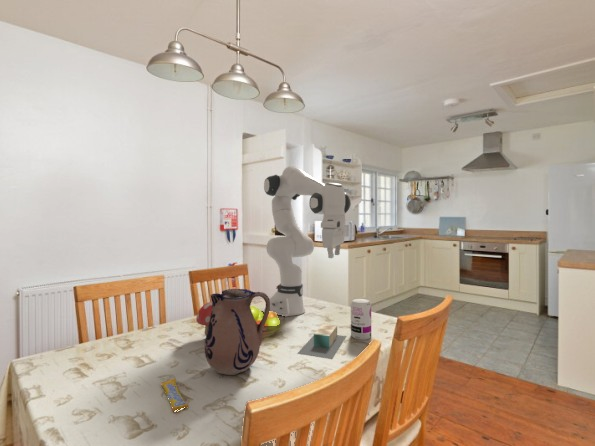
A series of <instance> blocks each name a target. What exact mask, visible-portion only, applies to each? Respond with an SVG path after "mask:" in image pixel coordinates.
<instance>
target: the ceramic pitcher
mask: <svg viewBox="0 0 595 446" xmlns="http://www.w3.org/2000/svg"><path fill="white" fill-rule="evenodd" d="M256 297H260V298H262V300H264V302H265V306H266V307H265V306H264V307H265V313H263V316H262V317H261V320H260V322H259V323H258V322H257V321H256V319H255V316H254V314H253V312H252V309H251V305H252V301H253V300H254V298H256ZM269 298H270V297H269V295H267V293H265V292H263V291H262V292H261V291H251V290H250V289H246V288H245V289H243V288H230V289H225V290H222V291H221V293H212V294H210V299H211V300H210V301H211V302H212V313H211V317H210V322H209V326H208V330H207V335H205V342H204V355H205V358H206V361H207V363H208V365H209V367H211V368H212V369H213V370H214V371H215V372H217V373H218V374H221V375H225V376H234V375H235V376H236V375H238V374H241V373H243V372H245V371H248V370H249V368H250V367H251V366H253V364H254V363H255V362H256V360H257V358H258V356H259V353H260V348H261V345H262V343H263V339H264V338H263V337H264V336H263V332H264V331H263V330H264V328H265V325H266V323H267V320H268V318H269V315H270V314H269V311H270V300H269Z"/></svg>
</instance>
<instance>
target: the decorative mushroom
mask: <svg viewBox="0 0 595 446" xmlns="http://www.w3.org/2000/svg"><path fill="white" fill-rule="evenodd" d="M211 313H212V301H209V302H206V303H205V304H203V305H202V306H201V307H200V308H199V309H198V311H197V315H196V318H195V321H196V322H197V324H199V325H201V326H205V327H204V335H205V336H206V335H207V330H208V326H209V322H210V317H211Z"/></svg>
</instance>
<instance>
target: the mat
mask: <svg viewBox="0 0 595 446" xmlns="http://www.w3.org/2000/svg"><path fill="white" fill-rule="evenodd" d="M346 338H347V335H340V334H337V338H336V339H335V341H334V342H333V343H332V345H331V346H330V348H324V347H318V346H314V334H313V336H311V337H310V339H309V340H308V341H307V342H306V343H305V345H304V346H303V347H301V348H300V350H299V351H298V352H297V353H296V354H297V355H303V356H304V355H306V356H309V357H310V356H311V357H316V358H322V359H327V360H333V359H334V357H335V356H336V354H337V353H338V351H339V350H340V348H341V346H342V344H343V343H344V341H345V340H346Z"/></svg>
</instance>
